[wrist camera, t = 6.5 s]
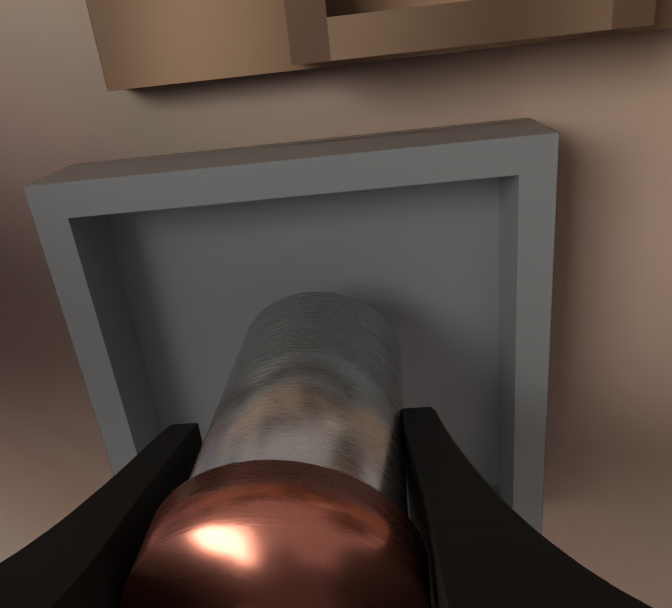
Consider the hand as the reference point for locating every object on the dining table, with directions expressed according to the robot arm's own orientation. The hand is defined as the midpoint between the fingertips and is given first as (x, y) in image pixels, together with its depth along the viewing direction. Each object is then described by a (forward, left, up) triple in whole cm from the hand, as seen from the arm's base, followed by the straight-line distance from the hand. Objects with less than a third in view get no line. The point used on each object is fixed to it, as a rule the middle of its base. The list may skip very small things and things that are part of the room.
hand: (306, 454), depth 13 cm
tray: (0, 0, -5) cm, 5 cm away
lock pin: (0, +1, -3) cm, 3 cm away
